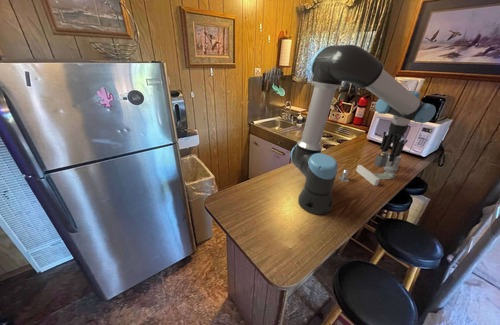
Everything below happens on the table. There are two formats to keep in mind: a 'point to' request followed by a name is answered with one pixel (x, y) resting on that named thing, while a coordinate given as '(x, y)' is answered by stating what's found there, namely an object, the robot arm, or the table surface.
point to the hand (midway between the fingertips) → (384, 164)
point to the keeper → (385, 175)
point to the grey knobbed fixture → (344, 176)
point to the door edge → (367, 175)
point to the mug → (396, 164)
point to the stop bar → (383, 160)
